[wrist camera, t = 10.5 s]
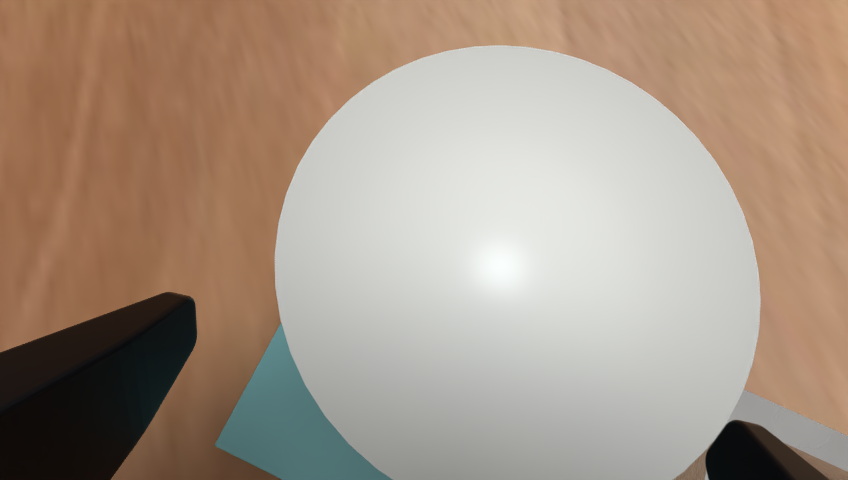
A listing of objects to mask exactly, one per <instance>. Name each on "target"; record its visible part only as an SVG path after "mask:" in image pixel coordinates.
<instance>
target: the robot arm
mask: <svg viewBox="0 0 848 480" xmlns="http://www.w3.org/2000/svg"><path fill="white" fill-rule="evenodd" d="M196 339H197V325H196V307H195V302H194V300H193V298H191V297H190V296H186V295H182V294H177V293H173V292H165V293H162V294H159V295H156V296H154V297H151V298H148V299H146V300H143V301H140V302H137V303H135V304H132V305H129V306H126V307H124V308H121V309H118V310H115V311H113V312H110V313H107V314H104V315H102V316H99V317H96V318H94V319H91V320H88V321H85V322H83V323H80V324H77V325H74V326H72V327H69V328H66V329H63V330H61V331H58V332H55V333H52V334H50V335H47V336H44V337H42V338H39V339H36V340H33V341H31V342H28V343H25V344H22V345H20V346H17V347H14V348H11V349H9V350H6V351H3V352H0V480H110V479H111V478H112V477H113V475H114V474H115V473H116V471H117V470H118V468H119V467H120V466H121V464H122V463H123V462H124V460H125V459H126V457H127V456H128V455H129V453H130V452H131V451H132V449H133V448H134V446H135V445H136V444H137V442H138V441H139V439H140V438H141V436H142V435H143V433H144V432H145V430H146V429H147V427H148V426H149V424H150V422H151V421H152V419H153V417H154V416H155V414H156V412H157V411H158V409H159V407H160V405H161V404H162V402H163V400H164V399H165V397H166V395H167V393H168V392H169V390H170V388H171V387H172V385H173V383H174V381H175V380H176V378H177V376H178V374H179V373H180V371H181V369H182V368H183V366H184V364H185V362H186V361H187V359H188V357H189V356H190V354H191V352H192V350H193V348H194V346H195V343H196ZM705 466H706V471H707V475H708V479H709V480H830V479H828V478H827V477H826V476H825V475H823V474H822V473H821V472H820V471H818V470H817V469H816V468H815V467H813V466H812V465H811V464H810V463H808V462H807V461H806V460H805V459H803V458H802V457H801V456H800V455H798V454H797V453H796V452H794V451H793V450H792V449H791V448H789V447H788V446H787V445H786V444H784V443H783V442H782V441H781V440H779V439H778V438H777V437H776V436H774V435H773V434H772V433H771V432H769V431H768V430H767V429H766V428H764V427H763V426H761V425H758V424H755V423H750V422H746V421H741V420H732V421H730V422H728V423H727V424H726V425H725V427H724V428H723V430H722V431H721V432H720V434H719V435H718V436H717V438H716V439H715V440H714V442H713V443H712V445H711V446H710V447H709V449H708V450H707V453H706V457H705Z"/></svg>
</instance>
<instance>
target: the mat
mask: <svg viewBox="0 0 848 480" xmlns="http://www.w3.org/2000/svg"><path fill="white" fill-rule="evenodd" d="M214 446H216V447H218V448H220V449H222V450H224V451H226V452H228V453H230V454H232V455H234V456H236V457H238V458H240V459H242V460H244V461H246V462H248V463H250V464H252V465H254V466H256V467H258V468H260V469H262V470H264V471H266V472H268V473H270V474H272V475H274V476H276V477H278V478H280V479H282V480H393V479H391V478H390V477H388V476H387V475H385V474H384V473H382V472H381V471H379V470H378V469H376V468H375V467H374V466H373V465H372V464H371V463H370V462H368V461H367V460H366V459H365V458H364V457H363V456H362V455H361V454H359V453H358V452H357V451H356V450H355V449H354V448H353V447H352V446H350V445H349V444H348V442H347V441H346V440H345V439H344V438H343V437H342V435H341V434H340V433H339V432H338V431H337V430H336V428H335V427H334V426H333V425H332V424H331V423H330V421H329V420H328V419H327V418H326V417H325V415H324V414H323V412H322V411H321V409H320V407H319V406H318V404H317V403H316V401H315V400H314V398H313V396H312V395H311V393H310V392H309V390H308V389H307V387H306V386H305V383H304V381H303V379H302V377H301V375H300V373H299V370H298V368H297V366H296V364H295V362H294V359H293V357H292V355H291V353H290V350H289V346H288V343H287V340H286V336H285V333H284V330H283V326H282V323H281V324H280V326H279V328H278V329H277V331H276V333H275V335H274V337H273V339H272V340H271V342H270V344H269V346H268V348H267V350H266V351H265V353H264V355H263V357H262V359H261V361H260V362H259V364H258V366H257V368H256V370H255V372H254V374H253V375H252V377H251V379H250V381H249V383H248V385H247V386H246V388H245V390H244V392H243V394H242V396H241V397H240V399H239V401H238V403H237V405H236V407H235V408H234V410H233V412H232V414H231V416H230V418H229V419H228V421H227V423H226V425H225V427H224V429H223V431H222V432H221V434H220V436H219V438H218V440H217V442H216V443H215V445H214Z"/></svg>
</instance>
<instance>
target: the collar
mask: <svg viewBox="0 0 848 480" xmlns="http://www.w3.org/2000/svg"><path fill="white" fill-rule="evenodd" d="M732 420H741V421H746V422H750V423H755V424H758V425H761V426H763V427H764V428H766V429H767V430H768V431H769V432H771V433H772V434H773V435H774V436H776V437H777V438H778V439H779V440H781V441H782V442H783V443H784V444H786V445H787V446H788V447H789V448H791V449H792V450H793V451H794V452H796V453H797V454H798V455H800V456H801V457H802V458H803V459H805V460H806V461H807V462H808V463H810V464H811V465H812V466H813V467H815V468H816V469H817V470H818V471H820V472H821V473H822V474H823V475H825V476H826V477H827V478H828V479H830V480H848V436H847V435H844V434H842V433H840V432H838V431H835V430H833V429H831V428H829V427H826V426H824V425H822V424H820V423H818V422H815V421H813V420H811V419H809V418H806V417H804V416H802V415H800V414H797V413H795V412H793V411H791V410H789V409H786V408H784V407H782V406H780V405H777V404H775V403H773V402H771V401H768V400H766V399H764V398H762V397H760V396H757V395H755V394H753V393H751V392H748V391H746V390H744V389H743V392H742V394H741V396H740V398H739V400H738V402H737V404H736V406H735V408H734V410H733V411H732V413H731V415H730V417H729V419H728V421H727V423H728V422H730V421H732ZM727 423H726V424H727ZM726 424H725V425H726ZM725 425H724V427H725ZM724 427H723V428H724ZM723 428H722V429H721V431H722V430H723ZM721 431H720V432H721ZM720 432H719V433H718V435H719V434H720ZM718 435H717V436H718ZM717 436H716V437H715V439H716V438H717ZM715 439H714V440H715ZM714 440H713V441H712V443H713V442H714ZM712 443H711V444H710V445H709V447H710V446H711V445H712ZM709 447H708V448H707V449H706V450H705V451H704V452H703V453H702V454H701V455H700V456H699V457H698V458H697V459H696V460H695V461H694V462H693V463H692V464H691V465H690V466H689V467H688V468H687V469H686V470H685V471H684V472H683V473H681V474H680V475H679V476H677V477H676V478H674V479H673V480H709V479H708V475H707V471H706V466H705V457H706V453H707V450H708V449H709Z"/></svg>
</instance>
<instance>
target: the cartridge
mask: <svg viewBox="0 0 848 480" xmlns="http://www.w3.org/2000/svg"><path fill="white" fill-rule="evenodd" d="M275 288H276V294H277V300H278V307H279V313H280V319H281V323H282V326H283V330H284V333H285V336H286V340H287V343H288V346H289V350H290V353H291V355H292V357H293V359H294V362H295V364H296V366H297V368H298V370H299V373H300V375H301V377H302V379H303V381H304V383H305V386H306V387H307V389H308V390H309V392H310V393H311V395H312V396H313V398H314V400H315V401H316V403H317V404H318V406H319V407H320V409H321V411H322V412H323V414H324V415H325V417H326V418H327V419H328V420H329V421H330V423H331V424H332V425H333V426H334V427H335V428H336V430H337V431H338V432H339V433H340V434H341V435H342V437H343V438H344V439H345V440H346V441H347V442H348V444H349V445H350V446H352V447H353V448H354V449H355V450H356V451H357V452H358V453H359V454H361V455H362V456H363V457H364V458H365V459H366V460H367V461H368V462H370V463H371V464H372V465H373V466H374V467H375V468H376V469H378V470H379V471H381V472H382V473H384V474H385V475H387V476H388V477H390V478H391V479H393V480H673V479H674V478H676V477H677V476H679V475H680V474H681V473H683V472H684V471H685V470H686V469H687V468H688V467H689V466H690V465H691V464H692V463H693V462H694V461H695V460H696V459H697V458H698V457H699V456H700V455H701V454H702V453H703V452H704V451H705V450H706V449H707V448H708V447H709V445H710V444H711V443H712V441H713V440H714V439H715V437H716V436H717V435H718V433H719V432H720V431H721V429H722V428H723V427H724V425H725V424H726V423H727V421H728V419H729V417H730V415H731V413H732V411H733V410H734V408H735V406H736V404H737V402H738V400H739V398H740V396H741V394H742V392H743V389H744V386H745V384H746V381H747V378H748V375H749V372H750V369H751V367H752V364H753V359H754V354H755V349H756V344H757V339H758V334H759V320H760V303H761V300H760V287H759V273H758V267H757V262H756V257H755V252H754V247H753V242H752V238H751V235H750V232H749V229H748V226H747V223H746V220H745V217H744V214H743V212H742V209H741V207H740V205H739V203H738V201H737V199H736V197H735V194H734V192H733V190H732V188H731V186H730V184H729V183H728V181H727V179H726V178H725V176H724V174H723V173H722V171H721V170H720V168H719V166H718V165H717V163H716V161H715V160H714V159H713V157H712V156H711V155H710V153H709V152H708V151H707V150H706V148H705V147H704V146H703V144H702V143H701V142H700V141H699V139H698V138H697V137H696V136H695V135H694V134H693V133H692V132H691V131H690V130H689V129H688V128H687V127H686V125H685V124H684V123H683V122H682V121H681V120H680V119H679V118H678V117H677V116H676V115H674V114H673V113H672V112H671V111H670V110H668V109H667V108H666V107H665V106H664V105H662V104H661V103H660V102H659V101H658V100H656V99H655V98H654V97H652V96H651V95H649V94H648V93H646V92H645V91H643V90H642V89H640V88H639V87H637V86H636V85H634V84H633V83H631V82H630V81H628V80H626V79H624V78H622V77H620V76H618V75H616V74H614V73H612V72H611V71H609V70H607V69H604V68H602V67H599V66H597V65H594V64H592V63H589V62H587V61H584V60H582V59H579V58H575V57H572V56H568V55H565V54H561V53H557V52H554V51H548V50H542V49H536V48H530V47H520V46H502V45H497V46H478V47H468V48H462V49H456V50H450V51H445V52H442V53H438V54H435V55H431V56H428V57H424V58H421V59H418V60H416V61H414V62H411V63H409V64H406V65H404V66H402V67H399V68H397V69H395V70H393V71H391V72H390V73H388V74H386V75H384V76H383V77H381V78H379V79H377V80H376V81H374V82H372V83H371V84H369V85H368V86H367V87H365V88H364V89H363V90H362V91H360V92H359V93H358V94H356V95H355V96H354V97H352V98H351V99H350V100H349V101H348V102H347V103H346V104H345V105H344V106H343V107H342V108H341V109H339V110H338V111H337V112H336V113H335V114H334V115H333V116H332V117H331V118H330V119H329V121H328V122H327V123H326V125H325V126H324V127H323V128H322V130H321V131H320V132H319V134H318V135H317V136H316V137H315V139H314V140H313V141H312V143H311V145H310V146H309V148H308V150H307V151H306V153H305V155H304V157H303V158H302V160H301V162H300V163H299V165H298V167H297V169H296V172H295V174H294V177H293V179H292V181H291V184H290V186H289V189H288V191H287V193H286V197H285V201H284V205H283V208H282V212H281V216H280V220H279V224H278V232H277V241H276V249H275Z"/></svg>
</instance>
